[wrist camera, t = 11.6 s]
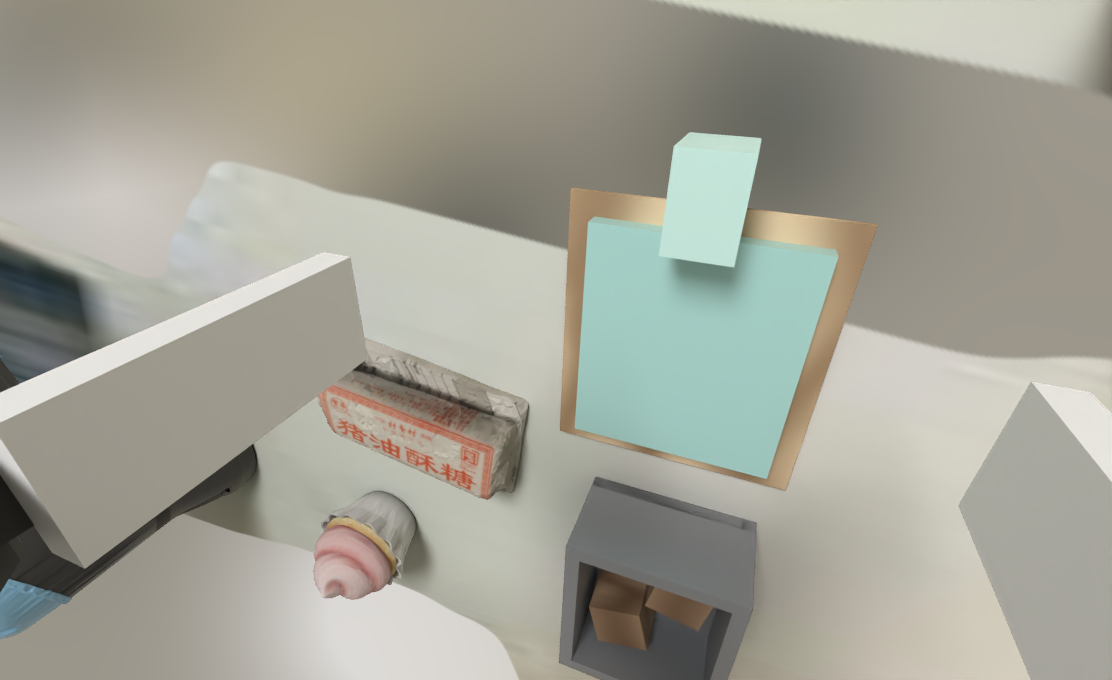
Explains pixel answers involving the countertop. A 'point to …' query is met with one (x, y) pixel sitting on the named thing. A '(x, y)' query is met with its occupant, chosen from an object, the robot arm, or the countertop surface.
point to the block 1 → (621, 611)
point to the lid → (697, 318)
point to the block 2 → (678, 607)
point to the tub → (658, 583)
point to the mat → (758, 224)
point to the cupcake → (363, 546)
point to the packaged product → (430, 419)
